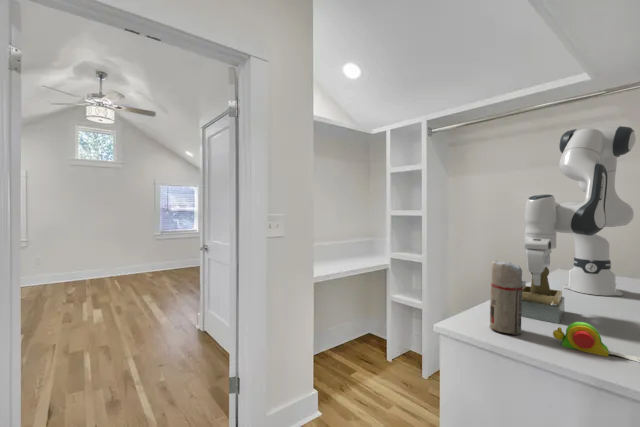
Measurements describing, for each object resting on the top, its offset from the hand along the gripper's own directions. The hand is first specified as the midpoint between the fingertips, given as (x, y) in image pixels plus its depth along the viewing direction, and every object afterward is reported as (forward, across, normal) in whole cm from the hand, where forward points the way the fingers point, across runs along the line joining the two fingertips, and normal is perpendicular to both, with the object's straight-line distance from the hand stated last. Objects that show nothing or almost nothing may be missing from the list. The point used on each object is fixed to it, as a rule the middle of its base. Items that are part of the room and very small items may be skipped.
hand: (539, 282), depth 104 cm
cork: (+5, 0, 0) cm, 5 cm away
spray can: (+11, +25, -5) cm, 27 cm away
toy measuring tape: (+11, +24, +16) cm, 31 cm away
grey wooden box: (+10, 0, 0) cm, 10 cm away
